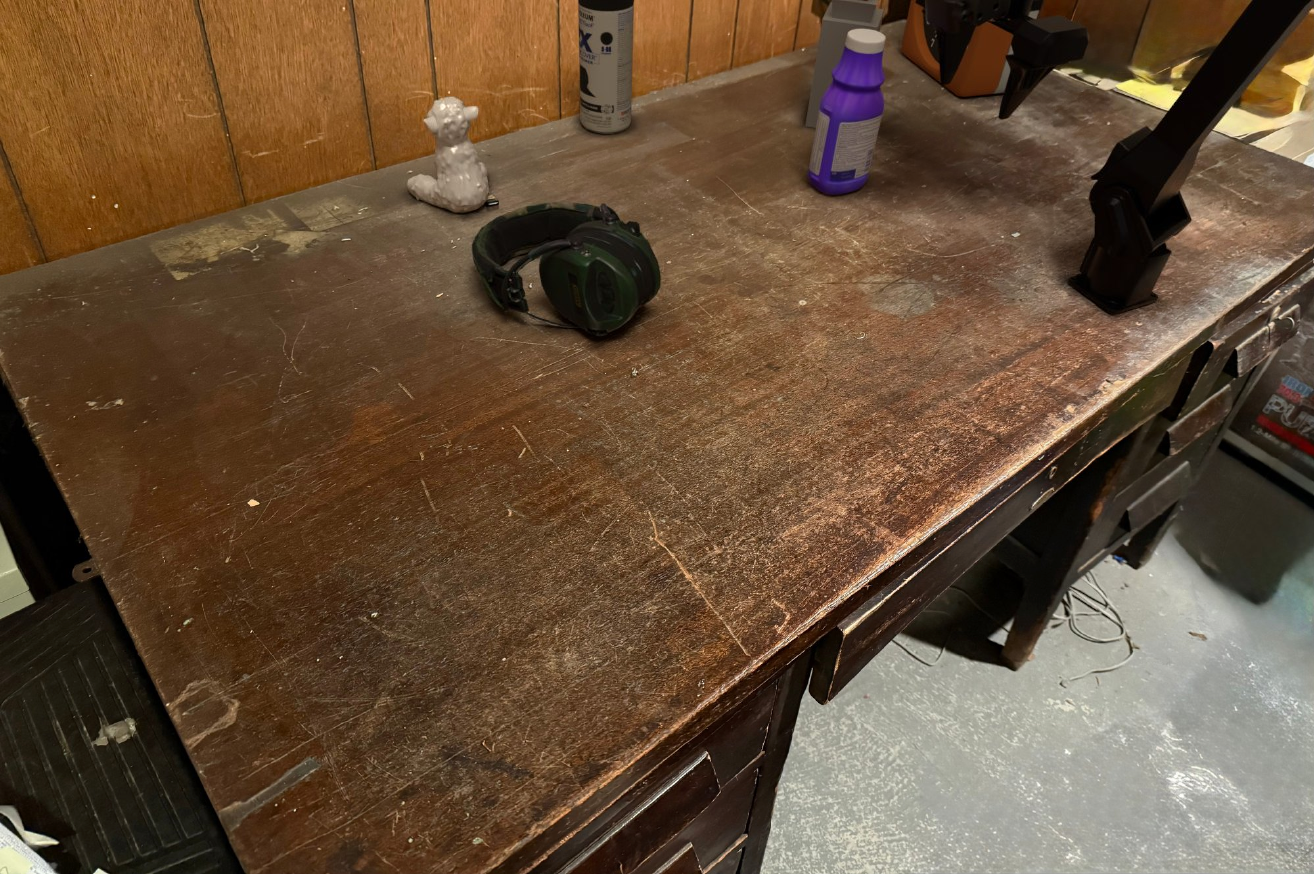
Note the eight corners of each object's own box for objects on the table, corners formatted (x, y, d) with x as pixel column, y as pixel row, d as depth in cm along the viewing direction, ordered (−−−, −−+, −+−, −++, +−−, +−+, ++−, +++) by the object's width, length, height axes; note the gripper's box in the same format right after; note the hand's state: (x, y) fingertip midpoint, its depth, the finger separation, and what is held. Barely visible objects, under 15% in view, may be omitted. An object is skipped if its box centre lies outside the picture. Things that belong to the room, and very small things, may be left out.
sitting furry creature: (483, 173, 105) (472, 71, 96) (516, 206, 100) (507, 101, 91) (407, 192, 101) (388, 88, 92) (436, 227, 96) (420, 120, 87)
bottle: (845, 168, 109) (874, 21, 97) (875, 189, 106) (909, 38, 93) (797, 181, 106) (821, 30, 94) (826, 202, 103) (856, 49, 91)
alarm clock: (897, 52, 137) (930, -99, 123) (946, 48, 139) (985, -101, 125) (960, 101, 125) (1006, -60, 110) (1014, 96, 127) (1065, -64, 113)
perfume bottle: (805, 126, 117) (828, -20, 105) (813, 106, 122) (837, -37, 109) (856, 134, 116) (885, -13, 103) (862, 114, 121) (892, -30, 108)
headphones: (703, 231, 86) (541, 201, 95) (642, 178, 74) (463, 150, 83) (663, 363, 86) (504, 320, 95) (595, 331, 74) (421, 286, 83)
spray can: (572, 117, 117) (567, -51, 103) (620, 109, 119) (621, -56, 105) (591, 138, 112) (589, -33, 98) (640, 130, 114) (644, -39, 101)
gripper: (890, -84, 86) (858, 78, 96) (1025, -25, 74) (971, 152, 85) (980, -92, 89) (940, 64, 100) (1122, -37, 78) (1059, 133, 88)
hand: (973, 101), depth 93 cm, fingers open, 9 cm apart
